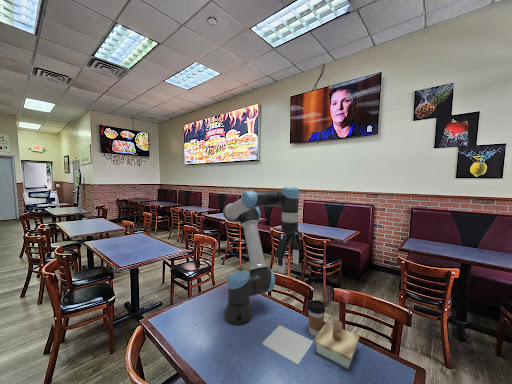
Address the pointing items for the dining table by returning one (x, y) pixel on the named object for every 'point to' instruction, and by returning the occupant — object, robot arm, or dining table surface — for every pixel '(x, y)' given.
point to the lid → (337, 339)
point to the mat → (288, 344)
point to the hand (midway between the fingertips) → (288, 267)
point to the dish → (334, 357)
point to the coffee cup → (315, 316)
